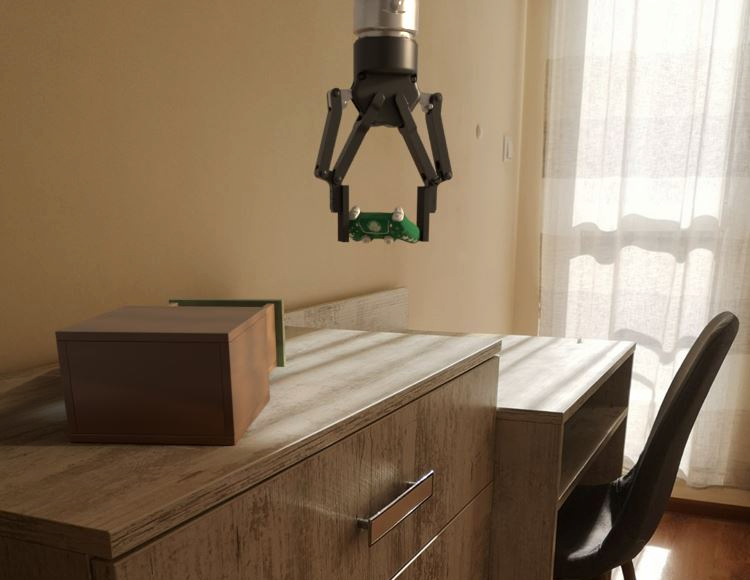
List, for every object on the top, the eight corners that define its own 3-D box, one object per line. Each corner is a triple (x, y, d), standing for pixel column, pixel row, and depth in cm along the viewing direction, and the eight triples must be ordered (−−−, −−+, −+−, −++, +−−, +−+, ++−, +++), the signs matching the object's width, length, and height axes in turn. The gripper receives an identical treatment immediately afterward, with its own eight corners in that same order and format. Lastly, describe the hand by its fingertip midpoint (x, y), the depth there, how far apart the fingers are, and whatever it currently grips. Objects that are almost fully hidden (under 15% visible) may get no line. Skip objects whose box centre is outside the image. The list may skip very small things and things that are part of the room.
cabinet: (133, 398, 87) (124, 305, 83) (270, 400, 86) (265, 307, 83) (69, 442, 71) (54, 331, 68) (235, 445, 70) (228, 333, 67)
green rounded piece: (347, 256, 105) (335, 223, 100) (353, 233, 106) (342, 199, 101) (416, 259, 102) (408, 224, 97) (422, 235, 104) (415, 200, 99)
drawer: (186, 357, 104) (181, 294, 101) (291, 358, 103) (289, 295, 100) (134, 392, 85) (126, 316, 83) (261, 394, 84) (258, 317, 82)
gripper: (297, 26, 88) (302, 243, 96) (487, 39, 94) (477, 242, 102) (284, 38, 95) (289, 240, 103) (463, 49, 101) (455, 239, 109)
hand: (383, 241), depth 102 cm, fingers closed on green rounded piece, 10 cm apart
